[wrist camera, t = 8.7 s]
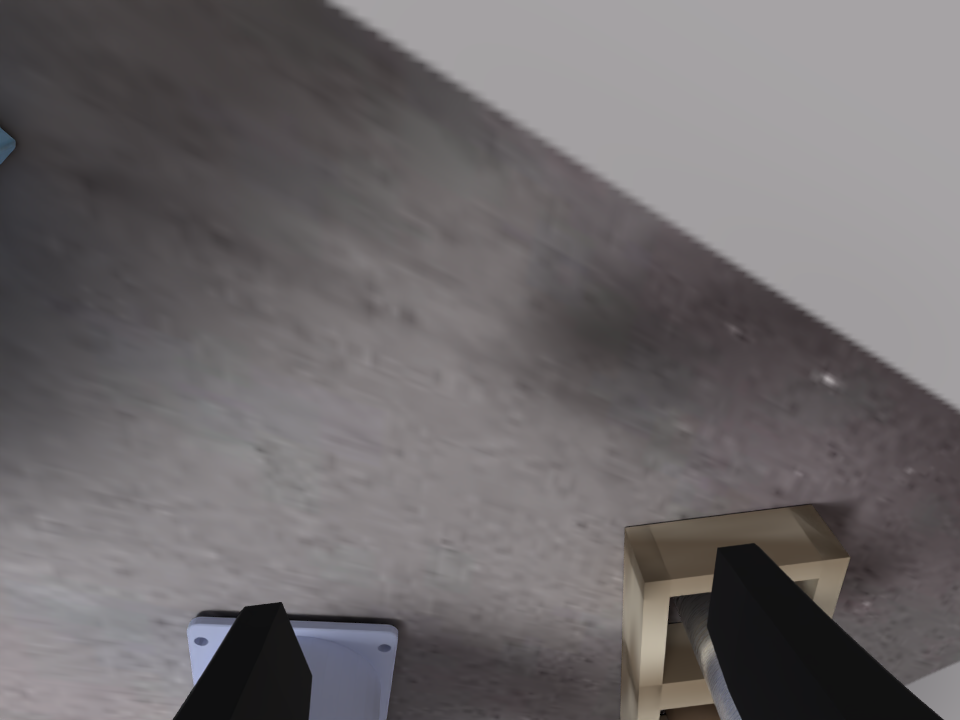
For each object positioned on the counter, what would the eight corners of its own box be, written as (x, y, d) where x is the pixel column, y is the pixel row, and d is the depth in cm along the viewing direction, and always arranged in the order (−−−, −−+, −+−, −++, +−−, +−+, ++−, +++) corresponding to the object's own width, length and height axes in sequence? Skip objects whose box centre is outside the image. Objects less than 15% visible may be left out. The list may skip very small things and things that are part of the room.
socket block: (761, 712, 30) (829, 861, 25) (619, 730, 30) (658, 882, 25) (811, 504, 23) (921, 652, 18) (624, 527, 23) (680, 682, 18)
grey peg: (744, 599, 26) (858, 821, 19) (659, 603, 25) (743, 830, 18) (766, 537, 24) (902, 760, 17) (675, 541, 23) (775, 768, 17)
